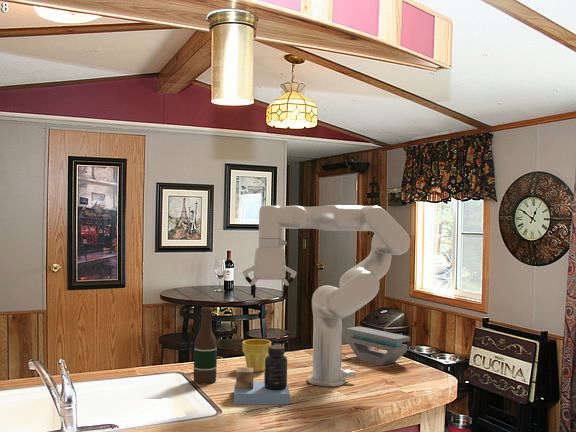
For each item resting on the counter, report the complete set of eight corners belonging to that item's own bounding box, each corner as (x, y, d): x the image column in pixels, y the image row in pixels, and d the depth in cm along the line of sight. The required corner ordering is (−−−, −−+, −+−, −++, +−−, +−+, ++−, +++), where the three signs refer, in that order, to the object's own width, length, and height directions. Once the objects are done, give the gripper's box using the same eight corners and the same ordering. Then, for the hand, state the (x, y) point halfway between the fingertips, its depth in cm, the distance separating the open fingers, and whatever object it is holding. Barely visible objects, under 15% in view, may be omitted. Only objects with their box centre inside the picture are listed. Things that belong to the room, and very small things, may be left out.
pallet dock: (286, 391, 172) (286, 381, 172) (289, 404, 160) (289, 393, 160) (234, 391, 171) (235, 381, 171) (233, 404, 159) (234, 393, 159)
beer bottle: (212, 385, 177) (214, 309, 177) (188, 383, 178) (191, 308, 179) (219, 378, 184) (221, 306, 185) (197, 377, 186) (199, 305, 186)
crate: (252, 384, 169) (253, 367, 169) (253, 389, 164) (253, 372, 164) (236, 384, 169) (236, 367, 169) (236, 388, 164) (236, 371, 164)
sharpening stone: (409, 366, 207) (409, 336, 208) (396, 369, 202) (396, 339, 202) (358, 353, 226) (359, 326, 226) (345, 355, 221) (346, 328, 221)
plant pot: (235, 369, 196) (236, 342, 196) (253, 364, 205) (254, 337, 205) (259, 374, 190) (259, 346, 190) (276, 368, 199) (277, 341, 199)
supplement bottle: (263, 384, 169) (264, 344, 170) (285, 384, 170) (287, 344, 170) (264, 390, 162) (265, 349, 163) (287, 390, 163) (288, 349, 163)
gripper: (295, 244, 182) (294, 296, 182) (243, 243, 181) (241, 295, 181) (298, 245, 175) (297, 299, 175) (243, 244, 173) (242, 299, 173)
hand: (269, 297), depth 178 cm, fingers open, 9 cm apart
